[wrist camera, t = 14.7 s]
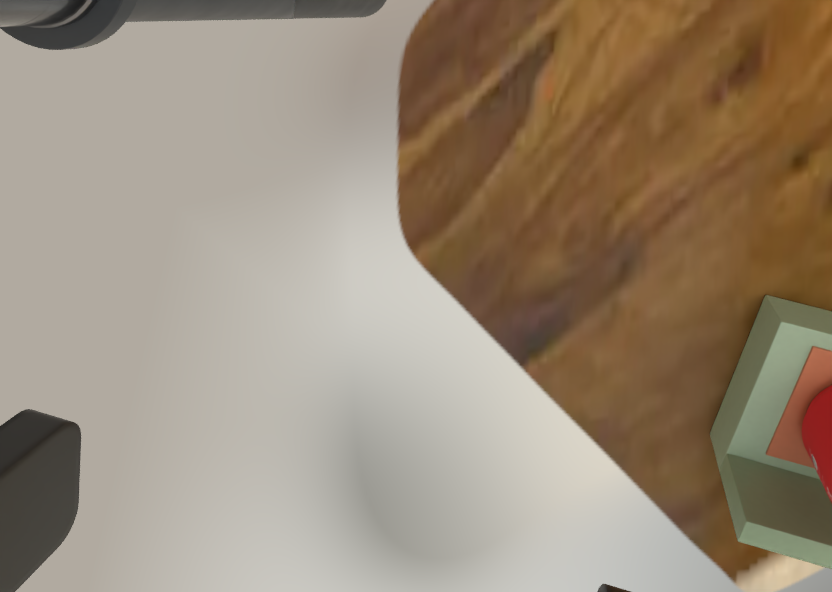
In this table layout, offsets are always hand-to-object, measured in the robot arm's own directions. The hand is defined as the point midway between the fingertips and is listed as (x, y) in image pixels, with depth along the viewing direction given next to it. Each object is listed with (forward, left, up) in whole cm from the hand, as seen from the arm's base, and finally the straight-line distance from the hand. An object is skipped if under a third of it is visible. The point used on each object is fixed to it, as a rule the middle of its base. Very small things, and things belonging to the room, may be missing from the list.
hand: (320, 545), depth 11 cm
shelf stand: (+19, -9, -33) cm, 40 cm away
